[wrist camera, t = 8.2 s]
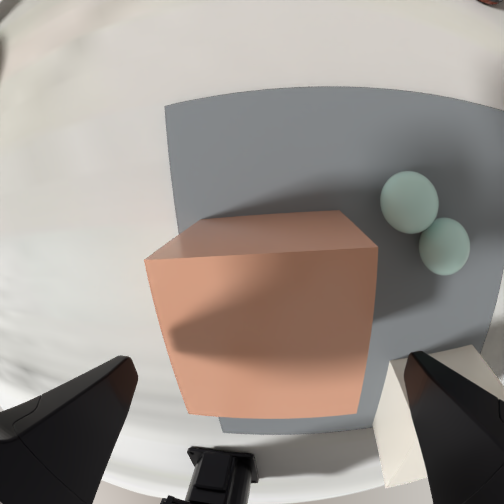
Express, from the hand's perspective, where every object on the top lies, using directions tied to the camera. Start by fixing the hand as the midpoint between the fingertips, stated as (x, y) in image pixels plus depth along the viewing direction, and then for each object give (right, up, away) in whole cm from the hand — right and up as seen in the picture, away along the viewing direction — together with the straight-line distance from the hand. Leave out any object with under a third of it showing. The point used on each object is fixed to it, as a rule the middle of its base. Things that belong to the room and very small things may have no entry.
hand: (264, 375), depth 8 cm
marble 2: (+10, +4, +6) cm, 12 cm away
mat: (+7, +1, +8) cm, 10 cm away
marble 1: (+7, +6, +5) cm, 11 cm away
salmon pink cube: (+1, +2, +8) cm, 8 cm away
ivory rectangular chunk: (+13, -7, +9) cm, 17 cm away
